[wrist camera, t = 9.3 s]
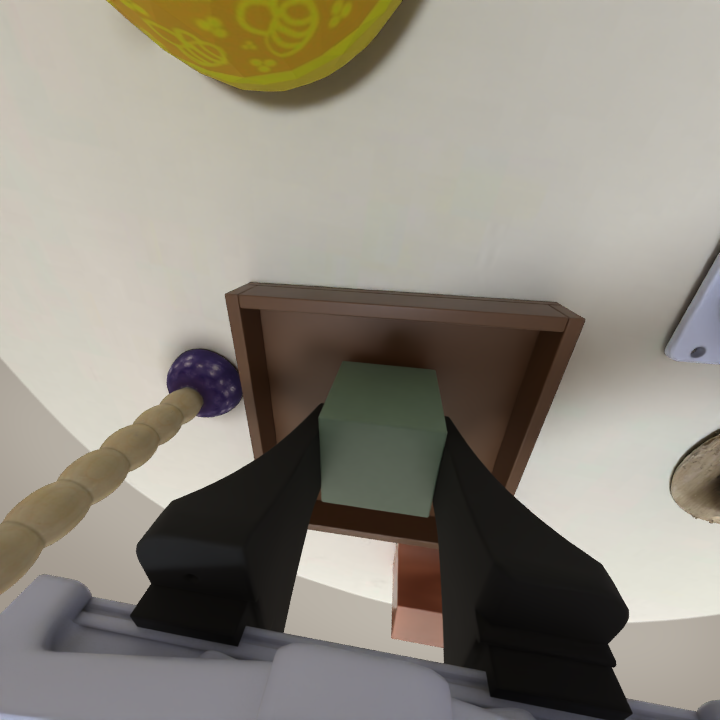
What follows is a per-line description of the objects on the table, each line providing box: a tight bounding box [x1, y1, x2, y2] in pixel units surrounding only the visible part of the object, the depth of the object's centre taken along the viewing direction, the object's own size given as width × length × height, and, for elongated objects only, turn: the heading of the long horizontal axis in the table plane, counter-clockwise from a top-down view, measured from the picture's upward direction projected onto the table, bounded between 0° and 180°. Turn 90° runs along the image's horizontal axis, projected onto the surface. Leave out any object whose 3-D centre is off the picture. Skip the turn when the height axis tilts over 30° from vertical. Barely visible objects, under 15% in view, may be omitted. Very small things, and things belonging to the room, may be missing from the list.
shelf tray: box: [225, 282, 585, 549], centre depth 16 cm, size 14×15×2 cm
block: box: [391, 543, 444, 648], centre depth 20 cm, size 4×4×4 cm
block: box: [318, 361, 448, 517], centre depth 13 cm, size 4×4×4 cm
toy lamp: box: [0, 349, 243, 595], centre depth 10 cm, size 5×5×17 cm
